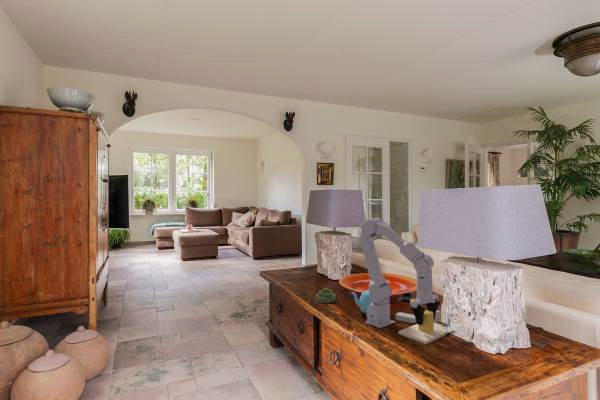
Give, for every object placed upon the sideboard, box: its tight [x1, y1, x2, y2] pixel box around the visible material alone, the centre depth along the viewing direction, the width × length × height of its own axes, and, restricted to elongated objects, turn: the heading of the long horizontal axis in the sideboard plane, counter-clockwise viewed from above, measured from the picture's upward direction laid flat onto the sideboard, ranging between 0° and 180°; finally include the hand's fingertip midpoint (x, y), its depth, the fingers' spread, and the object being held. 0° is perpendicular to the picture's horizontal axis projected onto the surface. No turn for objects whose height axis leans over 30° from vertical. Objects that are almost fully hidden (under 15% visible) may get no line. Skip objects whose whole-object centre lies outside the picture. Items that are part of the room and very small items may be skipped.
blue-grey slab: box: [394, 311, 417, 325], centre depth 146 cm, size 8×4×2 cm, turn 50°
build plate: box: [396, 291, 413, 303], centre depth 172 cm, size 12×7×5 cm, turn 64°
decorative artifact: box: [315, 286, 337, 304], centre depth 178 cm, size 10×7×10 cm
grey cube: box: [426, 309, 442, 324], centre depth 143 cm, size 4×4×4 cm
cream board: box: [397, 323, 448, 345], centre depth 132 cm, size 18×12×1 cm, turn 125°
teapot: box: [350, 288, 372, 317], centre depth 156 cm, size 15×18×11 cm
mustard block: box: [418, 309, 434, 333], centre depth 132 cm, size 4×4×7 cm
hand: (425, 322), depth 132 cm, fingers open, 7 cm apart
